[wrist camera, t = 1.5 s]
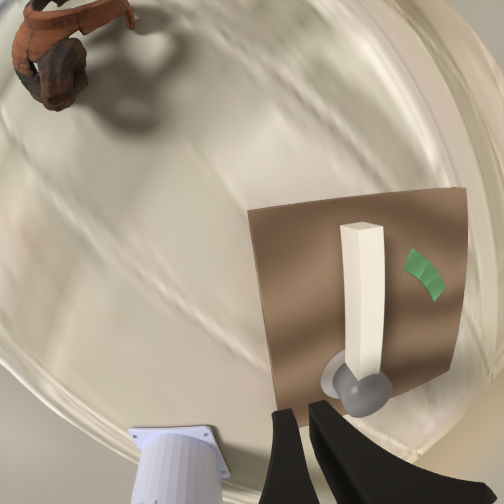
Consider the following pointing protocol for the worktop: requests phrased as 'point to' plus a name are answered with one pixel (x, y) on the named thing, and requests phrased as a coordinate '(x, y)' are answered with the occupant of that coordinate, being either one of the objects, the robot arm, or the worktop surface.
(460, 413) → the worktop surface
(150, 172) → the worktop surface
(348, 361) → the peg lever
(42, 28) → the pottery mug
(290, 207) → the brown flat square board
